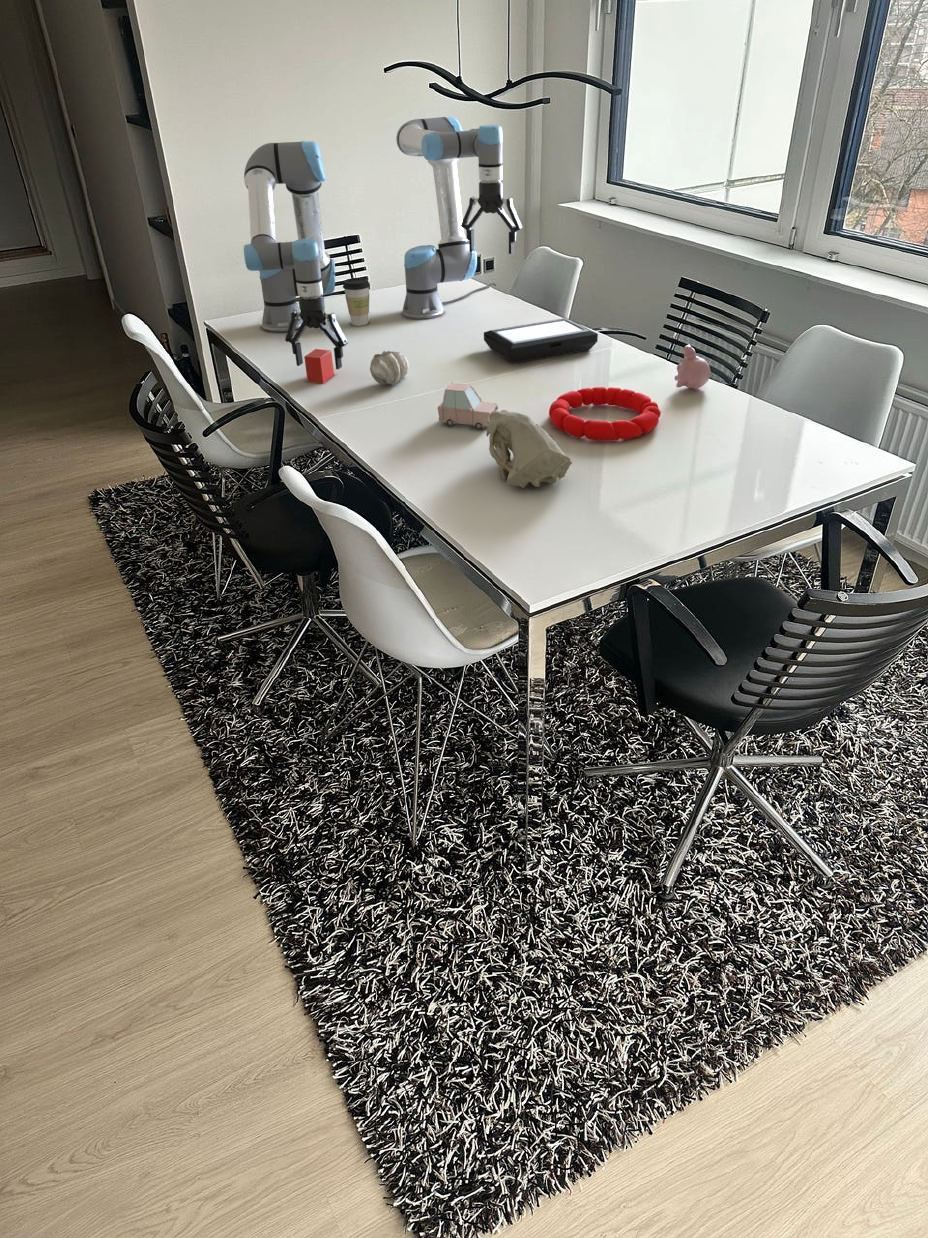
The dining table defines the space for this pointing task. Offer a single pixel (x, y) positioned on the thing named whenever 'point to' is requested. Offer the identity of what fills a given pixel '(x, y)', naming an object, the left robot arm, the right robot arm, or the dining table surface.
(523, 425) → the animal skull
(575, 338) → the electronic device
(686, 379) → the figurine
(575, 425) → the decorative ring
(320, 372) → the block
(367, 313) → the coffee cup
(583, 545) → the dining table surface
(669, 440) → the dining table surface
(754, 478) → the dining table surface
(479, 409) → the toy car
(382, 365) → the seashell
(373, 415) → the dining table surface
